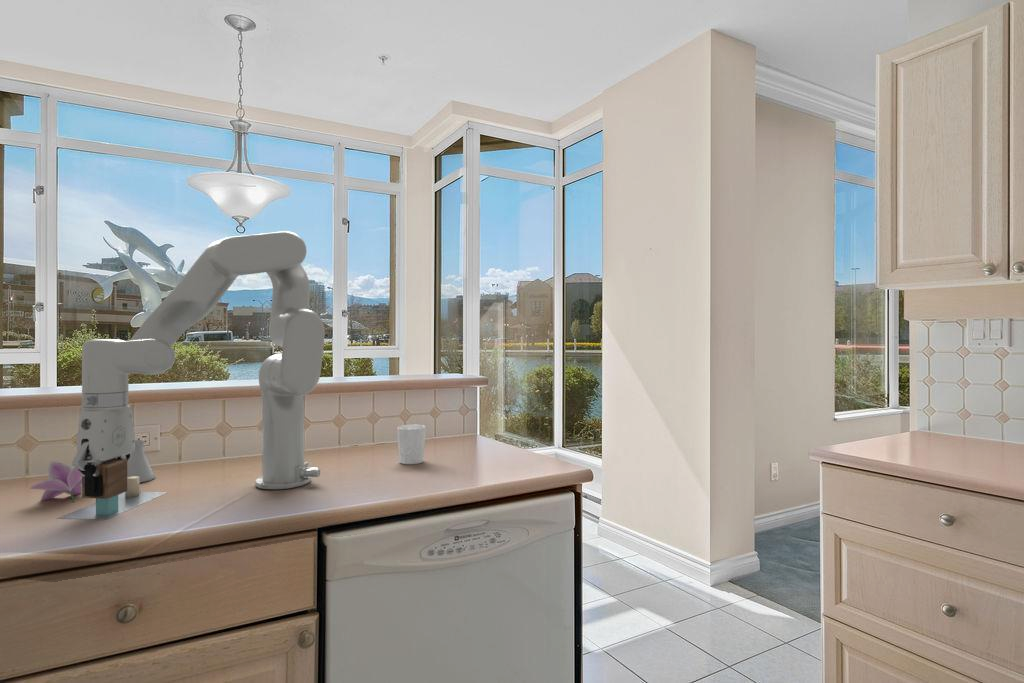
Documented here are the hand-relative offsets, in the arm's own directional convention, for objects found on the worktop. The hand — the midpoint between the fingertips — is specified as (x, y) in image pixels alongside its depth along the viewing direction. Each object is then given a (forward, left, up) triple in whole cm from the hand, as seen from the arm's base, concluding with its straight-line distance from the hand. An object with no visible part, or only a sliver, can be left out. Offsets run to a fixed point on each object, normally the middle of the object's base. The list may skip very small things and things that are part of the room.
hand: (105, 490), depth 112 cm
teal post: (0, 0, -4) cm, 4 cm away
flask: (+13, -26, -5) cm, 30 cm away
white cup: (-50, -50, -5) cm, 71 cm away
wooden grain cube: (0, 0, -1) cm, 1 cm away
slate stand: (+2, -5, -5) cm, 8 cm away
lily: (+15, -8, -5) cm, 18 cm away
